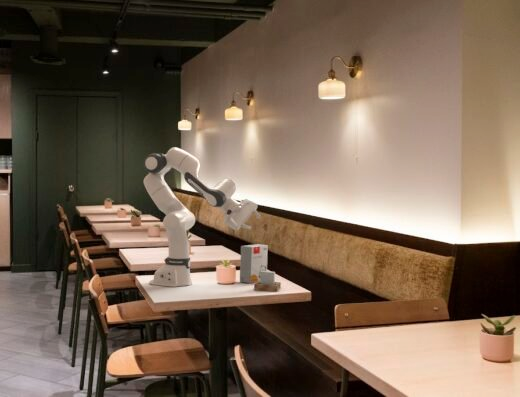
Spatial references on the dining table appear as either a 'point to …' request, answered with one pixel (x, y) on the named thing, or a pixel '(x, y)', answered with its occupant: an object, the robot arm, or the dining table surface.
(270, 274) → the gray rectangular block
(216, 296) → the dining table surface
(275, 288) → the walnut box
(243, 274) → the hard drive box
